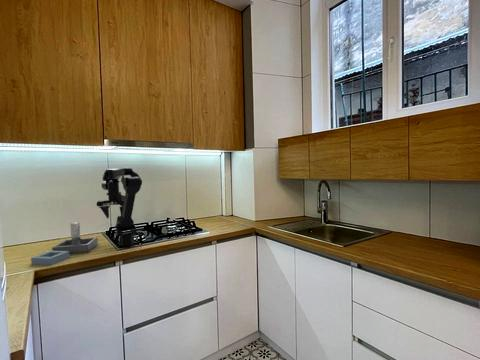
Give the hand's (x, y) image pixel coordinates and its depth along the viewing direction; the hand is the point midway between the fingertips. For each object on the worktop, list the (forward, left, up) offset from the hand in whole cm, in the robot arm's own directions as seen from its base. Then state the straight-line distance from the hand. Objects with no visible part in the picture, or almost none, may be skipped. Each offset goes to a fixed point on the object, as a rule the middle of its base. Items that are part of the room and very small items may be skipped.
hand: (115, 218), depth 151 cm
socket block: (+10, +33, -13) cm, 37 cm away
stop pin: (+11, +17, -12) cm, 23 cm away
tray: (+11, +17, -13) cm, 24 cm away
